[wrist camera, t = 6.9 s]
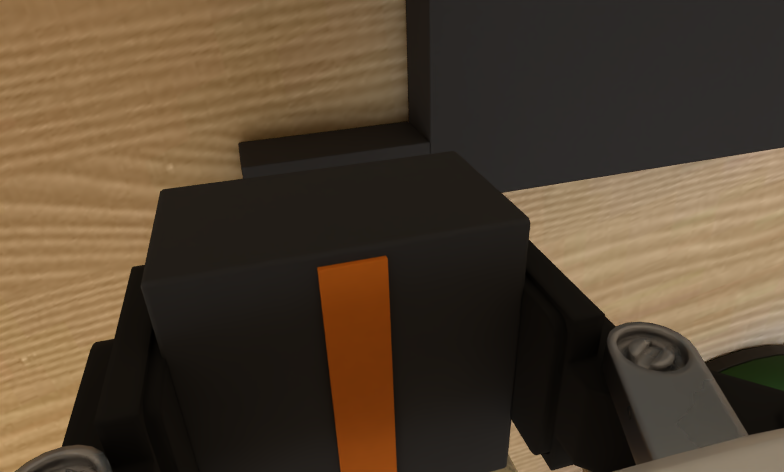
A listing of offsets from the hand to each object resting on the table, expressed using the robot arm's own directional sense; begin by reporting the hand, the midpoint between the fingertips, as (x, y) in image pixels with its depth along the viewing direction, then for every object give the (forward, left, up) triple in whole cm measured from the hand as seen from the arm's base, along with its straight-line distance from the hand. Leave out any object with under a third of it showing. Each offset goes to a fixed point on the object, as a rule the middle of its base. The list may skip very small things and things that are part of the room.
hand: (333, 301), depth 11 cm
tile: (0, 0, -1) cm, 1 cm away
